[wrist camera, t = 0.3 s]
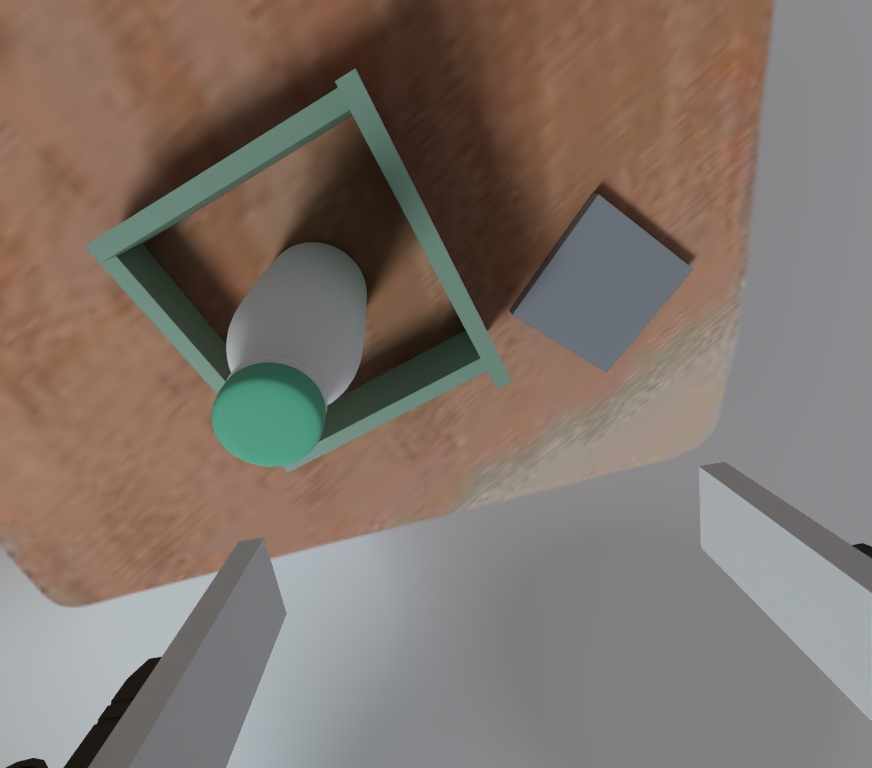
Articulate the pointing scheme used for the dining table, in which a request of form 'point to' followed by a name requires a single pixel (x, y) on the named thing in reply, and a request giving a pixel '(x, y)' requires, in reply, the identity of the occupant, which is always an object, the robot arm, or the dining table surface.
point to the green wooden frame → (208, 350)
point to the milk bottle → (291, 354)
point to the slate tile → (600, 284)
